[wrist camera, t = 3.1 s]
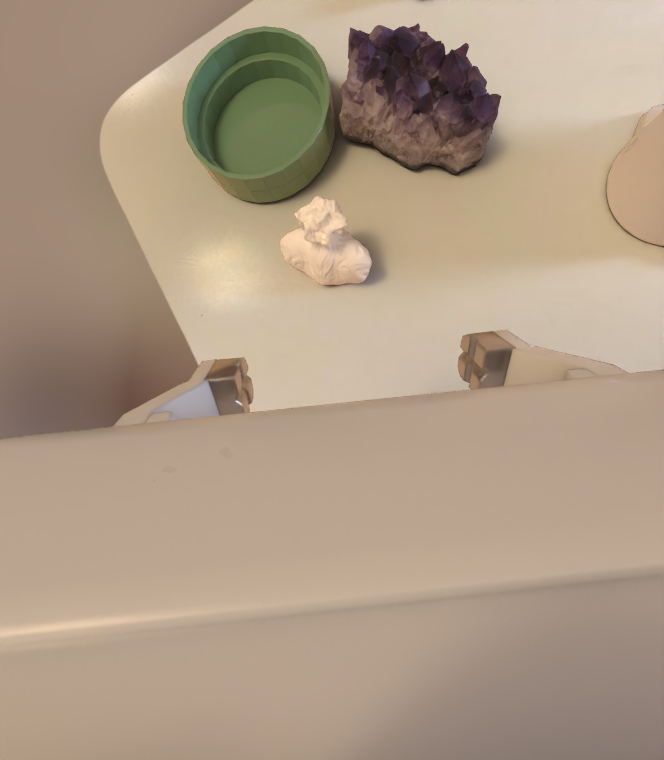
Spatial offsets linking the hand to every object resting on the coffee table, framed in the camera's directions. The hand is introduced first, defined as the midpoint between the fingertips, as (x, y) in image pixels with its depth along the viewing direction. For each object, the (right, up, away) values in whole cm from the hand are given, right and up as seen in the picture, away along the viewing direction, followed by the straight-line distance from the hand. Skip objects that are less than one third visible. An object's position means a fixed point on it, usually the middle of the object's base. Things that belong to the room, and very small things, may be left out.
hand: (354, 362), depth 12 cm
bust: (-1, +15, +30) cm, 34 cm away
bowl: (-10, +34, +32) cm, 47 cm away
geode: (+10, +33, +29) cm, 45 cm away
